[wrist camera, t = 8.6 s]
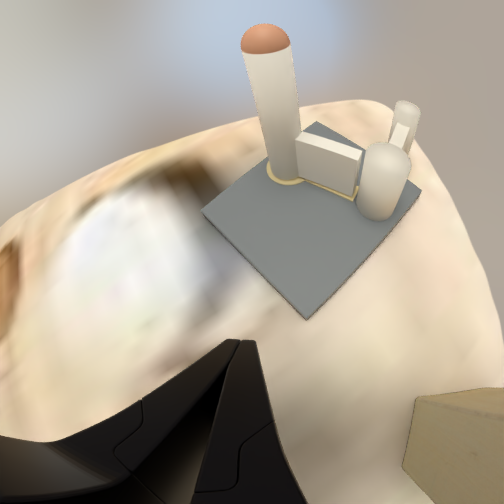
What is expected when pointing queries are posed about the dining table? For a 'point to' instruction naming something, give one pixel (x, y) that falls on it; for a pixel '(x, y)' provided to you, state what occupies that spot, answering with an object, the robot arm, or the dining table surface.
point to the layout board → (301, 229)
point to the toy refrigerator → (458, 447)
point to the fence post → (291, 116)
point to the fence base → (388, 165)
